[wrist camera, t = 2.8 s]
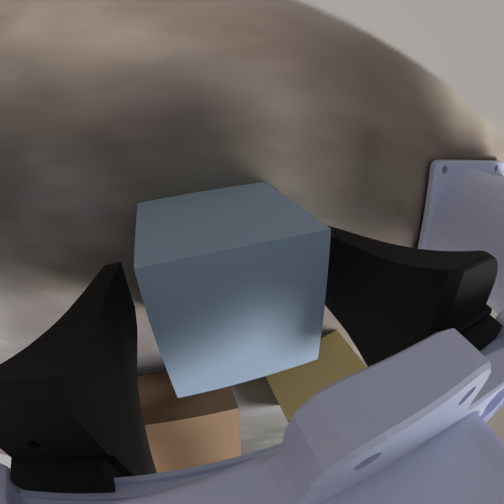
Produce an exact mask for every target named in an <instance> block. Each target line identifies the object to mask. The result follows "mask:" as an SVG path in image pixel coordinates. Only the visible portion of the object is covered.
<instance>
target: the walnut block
mask: <svg viewBox="0 0 504 504" xmlns="http://www.w3.org/2000/svg"><path fill="white" fill-rule="evenodd" d="M137 379H138V391H139V397H140V403H141V409H142V414H143V420H144V424H145V429H146V434H147V438H148V442H149V446H150V450H151V454H152V458H153V461H154V465H155V468H156V471H157V473H161V472H168V471H174V470H180V469H185V468H190V467H195V466H200V465H205V464H209V463H214V462H218V461H222V460H226V459H230V458H234V457H238V456H241V444H240V428H239V411H238V406H237V403H236V401H235V398H234V395H233V393H232V390H231V387H230V386H228V387H224V388H220V389H216V390H212V391H208V392H203V393H199V394H194V395H190V396H185V397H181V398H178V397H177V395H176V392H175V390H174V387H173V385H172V382H171V380H170V377H169V375H168V372H167V371H166V372H160V373H154V374H147V375H140V376H137Z"/></svg>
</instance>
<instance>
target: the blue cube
mask: <svg viewBox="0 0 504 504" xmlns="http://www.w3.org/2000/svg"><path fill="white" fill-rule="evenodd" d="M330 237H331V229H330V228H329V227H328V226H326V225H325V224H324V223H322V222H321V221H320V220H318V219H317V218H315V217H314V216H313V215H311V214H310V213H309V212H307V211H306V210H305V209H303V208H302V207H300V206H299V205H298V204H296V203H295V202H293V201H292V200H291V199H289V198H288V197H286V196H285V195H283V194H282V193H281V192H279V191H278V190H276V189H275V188H273V187H272V186H271V185H269V184H268V183H266V182H259V183H252V184H245V185H238V186H232V187H225V188H219V189H213V190H207V191H201V192H195V193H189V194H183V195H178V196H172V197H167V198H162V199H156V200H151V201H146V202H141V203H137V216H136V230H135V248H134V271H135V275H136V279H137V282H138V286H139V289H140V292H141V296H142V299H143V302H144V305H145V309H146V312H147V315H148V318H149V321H150V324H151V327H152V330H153V333H154V336H155V339H156V342H157V345H158V348H159V350H160V353H161V356H162V359H163V361H164V364H165V367H166V369H167V372H168V375H169V377H170V380H171V382H172V385H173V387H174V390H175V392H176V395H177V397H178V398H181V397H185V396H190V395H194V394H199V393H203V392H208V391H212V390H216V389H220V388H224V387H228V386H232V385H235V384H239V383H243V382H246V381H250V380H254V379H257V378H260V377H264V376H267V375H271V374H274V373H277V372H280V371H284V370H287V369H290V368H293V367H296V366H299V365H302V364H305V363H308V362H311V361H314V360H316V359H318V355H319V347H320V340H321V332H322V324H323V315H324V306H325V296H326V286H327V276H328V264H329V251H330Z"/></svg>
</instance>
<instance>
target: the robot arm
mask: <svg viewBox="0 0 504 504" xmlns="http://www.w3.org/2000/svg"><path fill="white" fill-rule="evenodd" d="M503 170H504V164H503V162H501V161H494V160H434V161H433V162H432V164H431V166H430V172H429V181H428V189H427V196H426V203H425V210H424V216H423V222H422V227H421V233H420V238H419V243H418V248H410V247H405V246H399V245H394V244H390V243H385V242H381V241H378V240H374V239H370V238H367V237H363V236H360V235H357V234H353V233H350V232H347V231H344V230H340V229H337V228H334V227H330V226H328V227H329V228H330V229H331V237H330V251H329V264H328V276H327V286H326V296H325V305H326V307H327V308H328V309H329V310H330V311H331V313H332V314H333V315H334V316H335V317H336V319H337V320H338V321H339V322H340V323H341V325H342V326H343V327H344V329H345V330H346V331H347V333H348V334H349V336H350V337H351V339H352V341H353V342H354V344H355V345H356V347H357V349H358V350H359V352H360V354H361V355H362V357H363V359H364V361H365V363H366V364H367V366H368V367H367V368H365V369H362V370H360V371H358V372H356V373H353V374H351V375H349V376H346V377H344V378H342V379H340V380H338V381H336V382H335V383H333V384H331V385H329V386H327V387H325V388H324V389H322V390H320V391H318V392H316V393H315V394H314V395H313V396H312V397H311V398H309V399H308V400H307V401H306V402H305V403H304V404H303V405H301V406H300V407H299V408H298V409H297V410H296V411H295V412H294V414H293V416H292V418H291V420H290V422H289V424H288V426H287V428H286V430H285V432H284V442H283V443H280V444H277V445H274V446H271V447H268V448H265V449H262V450H259V451H255V452H252V453H248V454H245V455H241V456H238V457H234V458H230V459H226V460H222V461H218V462H214V463H209V464H205V465H200V466H195V467H190V468H185V469H180V470H174V471H168V472H161V473H157V471H156V468H155V465H154V461H153V458H152V454H151V450H150V446H149V442H148V438H147V434H146V429H145V424H144V420H143V414H142V409H141V403H140V397H139V391H138V379H137V322H136V313H135V306H134V303H133V300H132V297H131V294H130V291H129V288H128V284H127V281H126V278H125V275H124V271H123V268H122V264H121V262H118V263H114V264H109V265H105V266H104V267H103V268H102V269H101V271H100V272H99V273H98V274H97V276H96V277H95V278H94V279H93V281H92V282H91V283H90V284H89V286H88V287H87V288H86V290H85V291H84V292H83V293H82V295H81V296H80V297H79V298H78V299H77V300H76V302H75V303H74V304H73V305H72V306H71V307H70V309H69V310H68V311H67V312H66V313H65V314H64V315H63V316H62V317H61V318H60V319H59V320H58V321H57V322H56V323H55V324H54V325H53V326H52V327H51V328H50V329H49V330H47V331H46V332H45V333H44V334H42V335H41V336H40V337H39V338H38V339H36V340H35V341H34V342H33V343H32V344H30V345H29V346H28V347H26V348H25V349H23V350H22V351H21V352H19V353H18V354H16V355H15V356H13V357H12V358H10V359H8V360H7V361H5V362H4V363H2V364H0V448H1V449H2V450H3V451H4V452H5V453H7V454H8V455H9V456H10V457H11V458H12V460H11V469H10V468H8V467H7V466H5V465H2V464H0V504H504V444H503V442H502V441H501V440H500V439H499V438H498V437H497V435H496V434H495V433H494V432H493V431H492V430H491V429H490V427H489V426H488V425H487V424H486V422H487V421H488V420H489V419H490V418H491V417H492V416H493V415H494V413H495V412H496V411H497V410H498V409H499V408H500V407H501V406H502V405H503V404H504V176H503ZM492 309H493V310H494V311H495V312H496V313H498V316H497V317H496V319H494V318H493V317H492V316H491V315H489V314H490V313H491V311H492Z"/></svg>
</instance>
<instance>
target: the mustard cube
mask: <svg viewBox="0 0 504 504" xmlns="http://www.w3.org/2000/svg"><path fill="white" fill-rule="evenodd" d="M365 368H367V367H366V366H365V364H364V363H363V362H362V361H361V359H360V358H359V357H358V356H357V354H356V353H355V352H354V351H353V349H352V348H351V347H350V346H349V344H348V343H347V342H346V341H345V340H344V338H343V337H342V336H341V335H340V333H339V332H338V331H337V330H335V331H334V332H332V333H330V334H328V335H326V336H324V337H323V338H321V340H320V347H319V355H318V359H316V360H314V361H311V362H308V363H305V364H302V365H299V366H296V367H293V368H290V369H287V370H284V371H280V372H277V373H274V374H271V375H267V376H266V379H267V381H268V383H269V385H270V387H271V389H272V391H273V393H274V395H275V397H276V399H277V401H278V403H279V405H280V407H281V409H282V411H283V413H284V415H285V417H286V419H287V421H288V422H290V420H291V418H292V416H293V414H294V412H295V411H296V410H297V409H298V408H299V407H300V406H301V405H303V404H304V403H305V402H306V401H307V400H308V399H309V398H311V397H312V396H313V395H314V394H315V393H316V392H318V391H320V390H322V389H324V388H325V387H327V386H329V385H331V384H333V383H335V382H336V381H338V380H340V379H342V378H344V377H346V376H349V375H351V374H353V373H356V372H358V371H360V370H362V369H365Z"/></svg>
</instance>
